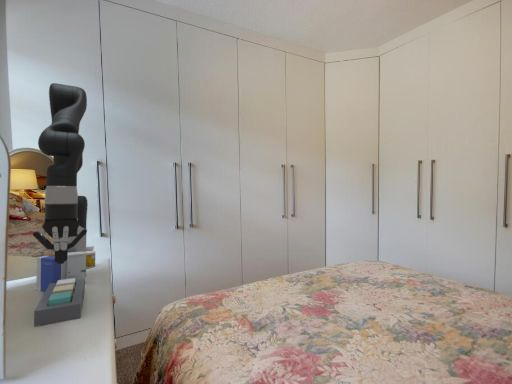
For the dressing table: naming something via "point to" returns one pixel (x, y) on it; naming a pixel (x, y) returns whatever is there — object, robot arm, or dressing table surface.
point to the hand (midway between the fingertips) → (60, 263)
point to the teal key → (60, 298)
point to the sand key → (64, 289)
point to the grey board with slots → (59, 306)
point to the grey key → (66, 282)
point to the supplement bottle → (90, 256)
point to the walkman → (47, 272)
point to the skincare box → (76, 265)
